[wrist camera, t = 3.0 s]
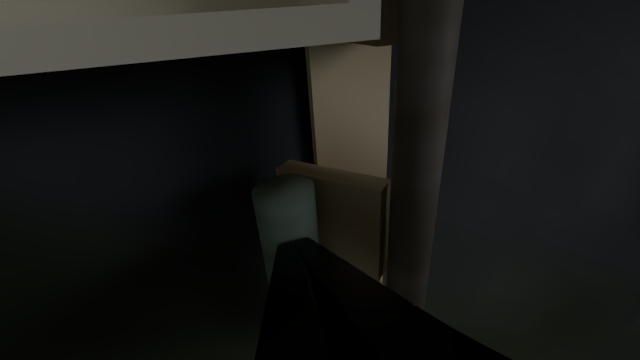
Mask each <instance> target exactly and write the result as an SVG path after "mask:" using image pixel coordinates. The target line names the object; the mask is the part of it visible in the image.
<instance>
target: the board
mask: <svg viewBox="0 0 640 360" xmlns="http://www.w3.org/2000/svg"><path fill="white" fill-rule="evenodd" d="M380 25H381V0H0V77H1V76H11V75H21V74H31V73H41V72H51V71H61V70H72V69H82V68H92V67H102V66H112V65H122V64H132V63H143V62H153V61H163V60H173V59H183V58H193V57H204V56H214V55H224V54H234V53H244V52H254V51H264V50H275V49H285V48H295V47H305V46H315V45H325V44H335V43H346V42H356V41H366V40H376V39H380Z"/></svg>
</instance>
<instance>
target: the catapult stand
mask: <svg viewBox="0 0 640 360" xmlns="http://www.w3.org/2000/svg"><path fill="white" fill-rule="evenodd" d="M399 2H400V0H381V25H380V39H376V40H366V41H356V42H346V43H335V44H325V45H315V46H305V54H306V67H307V80H308V92H309V105H310V117H311V130H312V143H313V155H314V164H315V165H320V166H325V167H330V168H335V169H341V170H346V171H351V172H356V173H361V174H366V175H372V176H377V177H382V178H386V173H387V147H388V120H389V94H390V68H391V45H398V24H399ZM382 277H383V275H382ZM382 277H381V279H380V281H379V282H380V283H381V284H383V283H382Z"/></svg>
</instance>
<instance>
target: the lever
mask: <svg viewBox="0 0 640 360" xmlns="http://www.w3.org/2000/svg"><path fill="white" fill-rule="evenodd" d="M463 3H464V0H400V2H399V24H398V45H397V67H396V88H395V109H394V131H393V152H392V174H391V179H387V178H382V177H377V176H372V175H366V174H361V173H356V172H351V171H346V170H341V169H335V168H330V167H325V166H320V165H315V164H309V163H304V162H299V161H294V160H288V161H287V162H285V163H284V164H282V165H281V166H279V167H278V168H276V169H275V170H276V176H273V177H269V178H267V179H264V180H262V181H260V182H259V183H257V184H256V185H255V186H254V187H253V189H252V192H251V195H252V200H253V205H254V210H255V216H256V221H257V226H258V231H259V237H260V242H261V247H262V252H263V258H264V263H265V268H266V273H267V279H268V284H269V285H270V280H271V275H272V270H273V265H274V260H275V255H276V250H277V246H278V245H279V244H281V243H285V242H289V241H294V240H297V239H300V238H304V237H309V238H311V239H312V240H314V241H315V242H317V243H319V244H320V245H322V246H323V247H325V248H326V249H328V250H330V251H331V252H333V253H334V254H336V255H337V256H339V257H341V258H342V259H344V260H345V261H347V262H348V263H350V264H352V265H353V266H355V267H356V268H358V269H359V270H361V271H363V272H364V273H366V274H367V275H369V276H370V277H372V278H374V279H375V280H377V281H378V282H379V281H380V279H381V277H382V275H383V273H384V272H385V270H386V268H387V281H386V287H388V288H389V289H391V290H392V291H394V292H395V293H397V294H399V295H400V296H402V297H403V298H405V299H406V300H408V301H410V302H411V303H413V307H414V306H418V307H419V308H421V309H422V310H424V305H425V298H426V290H427V282H428V274H429V267H430V259H431V251H432V243H433V236H434V228H435V220H436V212H437V205H438V197H439V189H440V181H441V174H442V166H443V158H444V150H445V143H446V135H447V127H448V119H449V112H450V104H451V96H452V88H453V81H454V73H455V65H456V57H457V50H458V42H459V34H460V26H461V19H462V11H463ZM390 188H391V195H390ZM389 210H390V217H389ZM388 231H389V238H388ZM387 253H388V259H387Z"/></svg>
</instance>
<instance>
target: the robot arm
mask: <svg viewBox="0 0 640 360" xmlns="http://www.w3.org/2000/svg"><path fill="white" fill-rule="evenodd" d="M255 360H512V359H510V358H508V357H506V356H504V355H502V354H500V353H498V352H496V351H494V350H492V349H490V348H489V347H487V346H485V345H483V344H481V343H479V342H477V341H475V340H474V339H472V338H470V337H468V336H466V335H464V334H463V333H461V332H459V331H457V330H455V329H453V328H452V327H450V326H448V325H447V324H445V323H444V322H442V321H440V320H439V319H437V318H435V317H434V316H432V315H430V314H429V313H427V312H426V311H424V310H422V309H421V308H419V307H418V306H414V307H413V303H411V302H410V301H408V300H406V299H405V298H403V297H402V296H400V295H399V294H397V293H395V292H394V291H392V290H391V289H389V288H388V287H386V286H384V285H383V284H381V283H380V282H378V281H377V280H375V279H374V278H372V277H370V276H369V275H367V274H366V273H364V272H363V271H361V270H359V269H358V268H356V267H355V266H353V265H352V264H350V263H348V262H347V261H345V260H344V259H342V258H341V257H339V256H337V255H336V254H334V253H333V252H331V251H330V250H328V249H326V248H325V247H323V246H322V245H320V244H319V243H317V242H315V241H314V240H312V239H311V238H309V237H304V238H300V239H297V240H294V241H289V242H285V243H281V244H279V245H278V246H277V250H276V255H275V260H274V265H273V270H272V275H271V280H270V285H269V290H268V295H267V300H266V305H265V310H264V315H263V320H262V325H261V330H260V335H259V340H258V345H257V350H256V355H255Z"/></svg>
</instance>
